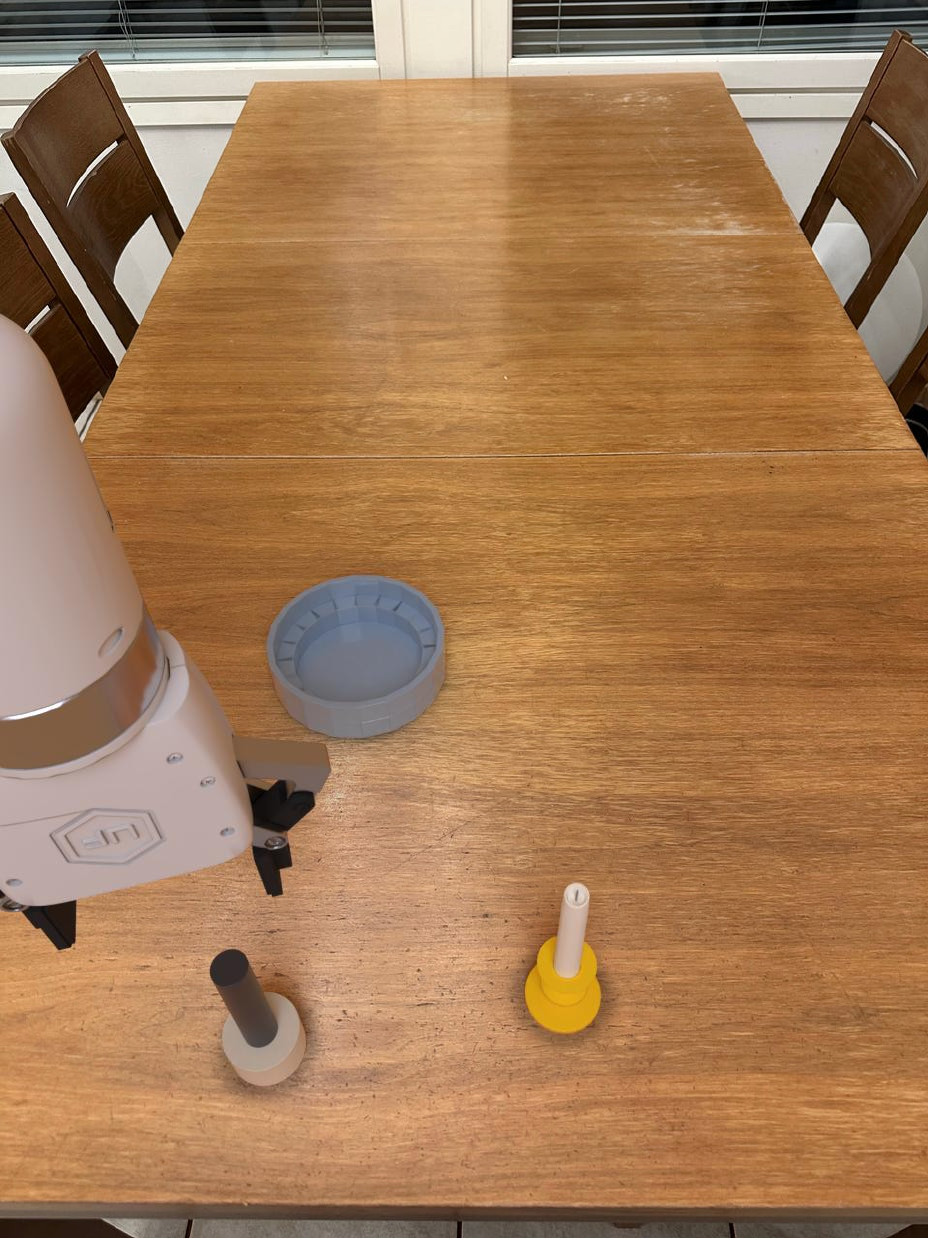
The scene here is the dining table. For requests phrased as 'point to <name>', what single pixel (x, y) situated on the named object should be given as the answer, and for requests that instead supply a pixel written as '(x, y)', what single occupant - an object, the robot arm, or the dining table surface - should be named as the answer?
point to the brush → (256, 1023)
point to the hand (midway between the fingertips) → (172, 894)
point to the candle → (566, 971)
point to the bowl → (357, 655)
